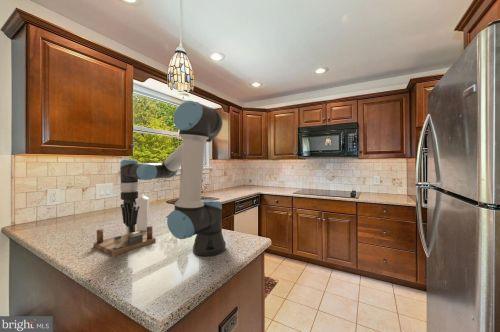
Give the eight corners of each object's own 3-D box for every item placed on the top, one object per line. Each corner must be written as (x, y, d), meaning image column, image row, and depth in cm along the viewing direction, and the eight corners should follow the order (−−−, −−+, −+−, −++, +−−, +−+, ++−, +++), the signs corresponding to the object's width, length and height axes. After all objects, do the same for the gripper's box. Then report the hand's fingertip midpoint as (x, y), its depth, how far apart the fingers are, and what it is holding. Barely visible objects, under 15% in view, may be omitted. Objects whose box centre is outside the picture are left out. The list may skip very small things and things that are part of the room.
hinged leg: (116, 248, 94) (116, 238, 94) (112, 247, 96) (112, 237, 96) (141, 239, 106) (141, 230, 106) (137, 238, 107) (137, 229, 107)
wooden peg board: (155, 241, 109) (155, 226, 109) (114, 256, 92) (114, 237, 92) (134, 235, 120) (134, 221, 120) (93, 246, 103) (93, 230, 103)
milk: (136, 231, 127) (135, 194, 127) (139, 228, 133) (139, 193, 133) (147, 230, 128) (146, 194, 128) (149, 227, 134) (149, 193, 134)
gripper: (144, 191, 103) (144, 238, 104) (130, 189, 110) (130, 234, 111) (128, 192, 97) (129, 243, 97) (114, 191, 104) (115, 238, 104)
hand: (130, 238), depth 104 cm, fingers closed
